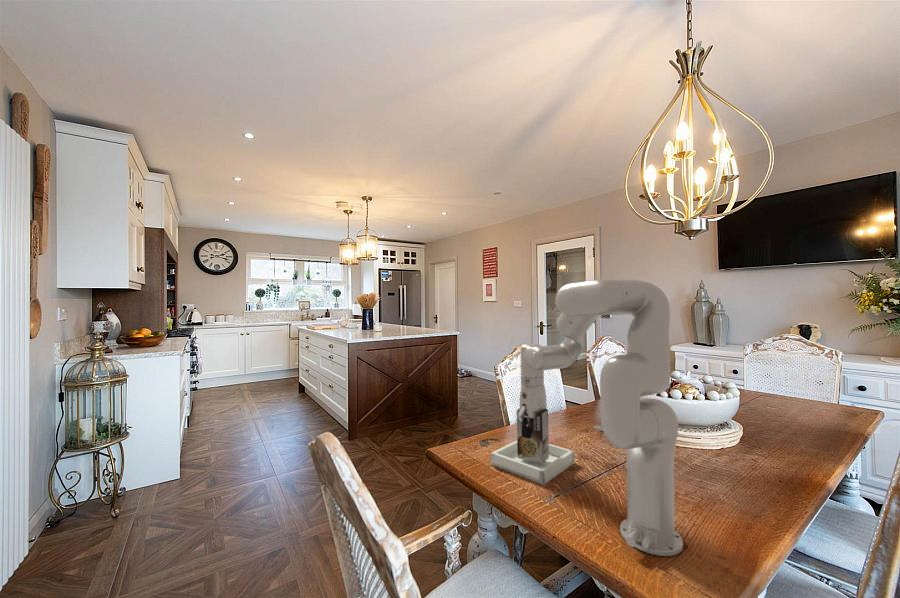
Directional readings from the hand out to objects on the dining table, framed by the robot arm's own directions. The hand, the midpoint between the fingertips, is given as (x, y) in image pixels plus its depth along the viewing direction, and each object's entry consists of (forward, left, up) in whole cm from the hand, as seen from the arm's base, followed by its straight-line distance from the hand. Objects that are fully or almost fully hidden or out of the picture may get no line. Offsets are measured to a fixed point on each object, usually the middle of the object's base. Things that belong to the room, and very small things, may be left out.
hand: (532, 434), depth 122 cm
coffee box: (0, 0, -8) cm, 8 cm away
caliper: (+45, -10, -11) cm, 47 cm away
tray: (0, 0, -10) cm, 10 cm away
